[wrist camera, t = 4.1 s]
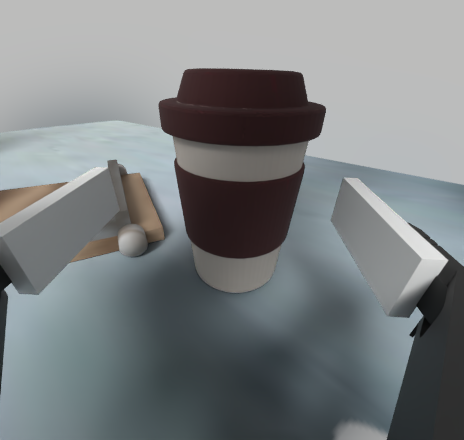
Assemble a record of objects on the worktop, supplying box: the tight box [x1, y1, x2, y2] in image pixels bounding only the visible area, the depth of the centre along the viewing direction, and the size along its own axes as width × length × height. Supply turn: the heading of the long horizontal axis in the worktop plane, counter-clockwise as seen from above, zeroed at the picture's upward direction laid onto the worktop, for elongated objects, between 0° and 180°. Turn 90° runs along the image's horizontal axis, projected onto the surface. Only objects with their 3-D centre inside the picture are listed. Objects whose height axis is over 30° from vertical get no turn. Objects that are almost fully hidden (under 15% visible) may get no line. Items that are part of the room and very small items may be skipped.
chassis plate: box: [0, 160, 165, 263], centre depth 25 cm, size 22×21×4 cm
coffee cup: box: [159, 69, 326, 293], centre depth 17 cm, size 10×10×15 cm
